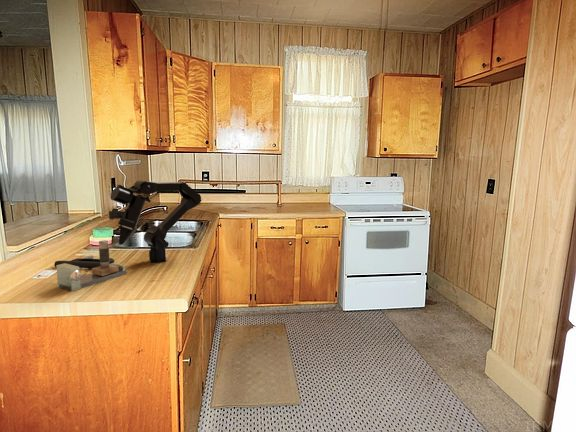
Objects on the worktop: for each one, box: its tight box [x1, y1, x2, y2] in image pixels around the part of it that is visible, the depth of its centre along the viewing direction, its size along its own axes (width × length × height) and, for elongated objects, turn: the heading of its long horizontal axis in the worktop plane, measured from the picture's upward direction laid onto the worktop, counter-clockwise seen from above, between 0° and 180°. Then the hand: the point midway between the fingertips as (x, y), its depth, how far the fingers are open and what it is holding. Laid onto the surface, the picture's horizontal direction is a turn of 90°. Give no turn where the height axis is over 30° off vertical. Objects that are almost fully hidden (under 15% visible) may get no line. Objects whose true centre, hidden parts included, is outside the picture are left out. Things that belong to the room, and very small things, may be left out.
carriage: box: [91, 240, 119, 276], centre depth 135 cm, size 7×6×12 cm
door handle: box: [54, 255, 115, 270], centre depth 152 cm, size 3×20×16 cm
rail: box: [55, 262, 127, 292], centre depth 131 cm, size 22×9×8 cm, turn 153°
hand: (120, 244), depth 145 cm, fingers open, 9 cm apart
